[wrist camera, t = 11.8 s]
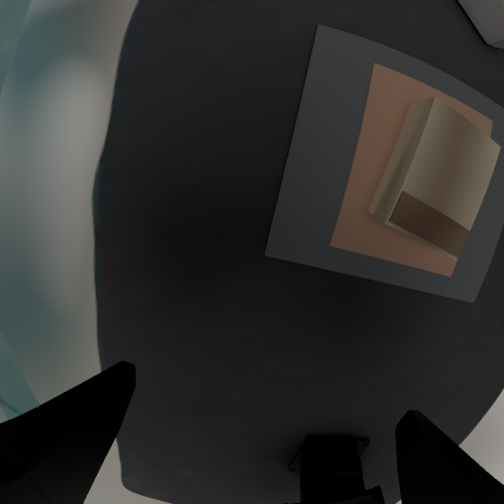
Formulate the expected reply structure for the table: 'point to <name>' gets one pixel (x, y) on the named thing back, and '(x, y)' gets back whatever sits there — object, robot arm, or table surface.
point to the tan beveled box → (436, 177)
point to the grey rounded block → (487, 19)
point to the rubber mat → (374, 169)
